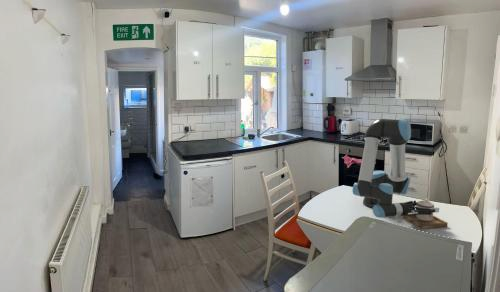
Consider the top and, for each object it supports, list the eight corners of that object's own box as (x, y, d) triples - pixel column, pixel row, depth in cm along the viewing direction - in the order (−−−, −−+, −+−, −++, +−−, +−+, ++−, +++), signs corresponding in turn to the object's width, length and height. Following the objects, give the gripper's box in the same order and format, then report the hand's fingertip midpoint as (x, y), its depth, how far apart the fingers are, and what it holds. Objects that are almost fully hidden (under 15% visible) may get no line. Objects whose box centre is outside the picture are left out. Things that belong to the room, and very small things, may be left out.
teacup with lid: (432, 222, 203) (434, 202, 201) (415, 219, 207) (416, 200, 205) (433, 215, 213) (435, 197, 211) (417, 212, 217) (419, 194, 215)
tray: (402, 218, 217) (403, 214, 216) (426, 215, 220) (427, 212, 220) (421, 229, 201) (422, 225, 200) (447, 226, 204) (447, 222, 204)
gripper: (387, 208, 216) (418, 206, 221) (411, 223, 194) (445, 219, 199) (388, 197, 215) (419, 194, 220) (412, 210, 193) (447, 207, 198)
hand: (432, 206), depth 209 cm, fingers closed on teacup with lid, 10 cm apart
